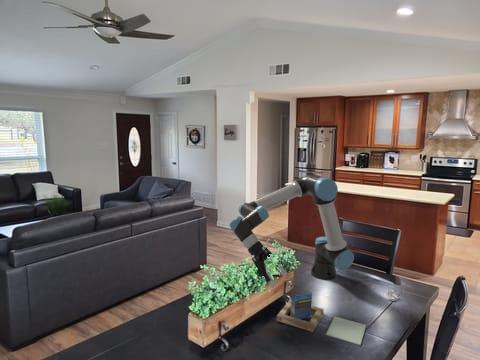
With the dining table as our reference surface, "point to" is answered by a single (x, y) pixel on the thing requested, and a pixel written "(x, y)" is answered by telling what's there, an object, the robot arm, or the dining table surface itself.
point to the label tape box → (301, 306)
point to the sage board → (346, 330)
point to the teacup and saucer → (390, 295)
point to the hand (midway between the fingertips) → (280, 280)
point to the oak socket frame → (297, 322)
